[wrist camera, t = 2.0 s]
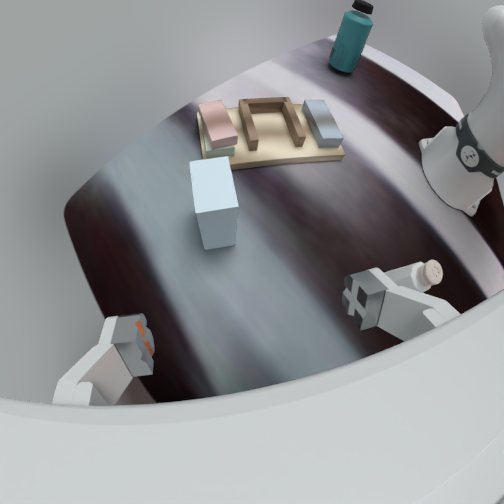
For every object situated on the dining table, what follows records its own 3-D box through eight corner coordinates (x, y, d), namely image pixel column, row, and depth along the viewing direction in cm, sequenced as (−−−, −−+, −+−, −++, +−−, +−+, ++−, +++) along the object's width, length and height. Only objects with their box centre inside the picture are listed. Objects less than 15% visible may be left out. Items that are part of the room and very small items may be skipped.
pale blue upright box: (198, 209, 37) (189, 161, 27) (227, 204, 38) (227, 156, 27) (204, 250, 36) (195, 213, 25) (235, 245, 36) (238, 206, 26)
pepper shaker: (386, 264, 37) (432, 238, 27) (407, 291, 36) (456, 273, 26) (364, 288, 36) (410, 268, 25) (387, 316, 35) (437, 305, 24)
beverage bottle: (357, 78, 51) (387, 12, 32) (333, 76, 50) (360, 5, 31) (344, 63, 53) (369, 0, 34) (321, 61, 52) (343, -7, 33)
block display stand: (197, 118, 42) (195, 94, 37) (318, 109, 45) (326, 88, 40) (205, 173, 39) (202, 151, 34) (341, 160, 42) (353, 139, 37)
